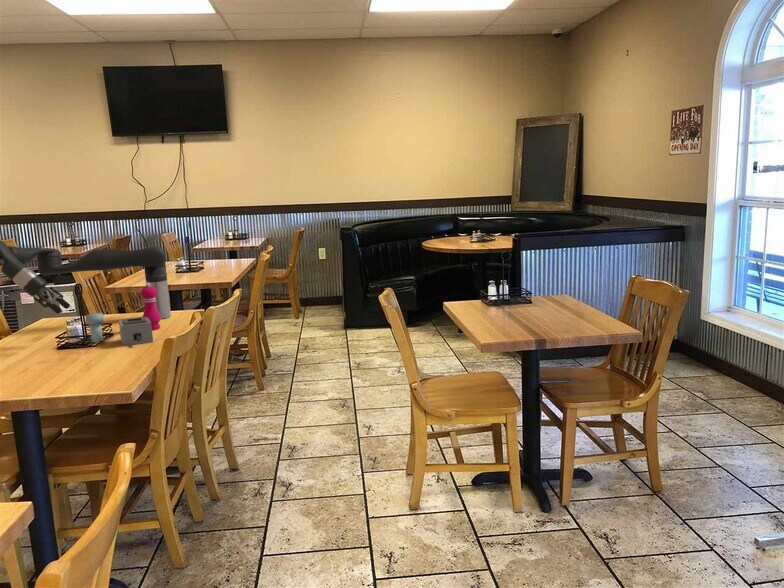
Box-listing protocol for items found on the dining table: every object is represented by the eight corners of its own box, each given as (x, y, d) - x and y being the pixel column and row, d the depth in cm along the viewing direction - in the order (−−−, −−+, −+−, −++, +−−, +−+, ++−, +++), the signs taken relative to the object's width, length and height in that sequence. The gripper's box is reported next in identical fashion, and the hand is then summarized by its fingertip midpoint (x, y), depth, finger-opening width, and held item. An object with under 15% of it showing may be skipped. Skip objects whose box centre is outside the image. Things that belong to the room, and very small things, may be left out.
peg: (88, 342, 251) (85, 314, 249) (105, 339, 254) (102, 312, 252) (89, 345, 246) (85, 317, 244) (106, 343, 249) (103, 315, 246)
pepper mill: (164, 326, 273) (159, 281, 270) (156, 331, 266) (151, 284, 262) (148, 326, 274) (143, 281, 270) (140, 331, 267) (135, 284, 263)
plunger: (134, 337, 249) (133, 332, 248) (139, 336, 250) (138, 331, 249) (136, 342, 241) (135, 337, 241) (141, 341, 242) (141, 336, 242)
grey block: (120, 339, 253) (118, 319, 252) (149, 336, 258) (147, 315, 256) (123, 346, 244) (120, 324, 242) (153, 342, 249) (150, 320, 247)
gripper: (31, 285, 249) (65, 312, 253) (14, 292, 235) (50, 320, 239) (43, 271, 249) (77, 299, 252) (27, 277, 235) (63, 306, 239)
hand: (64, 309), depth 246 cm, fingers open, 8 cm apart
